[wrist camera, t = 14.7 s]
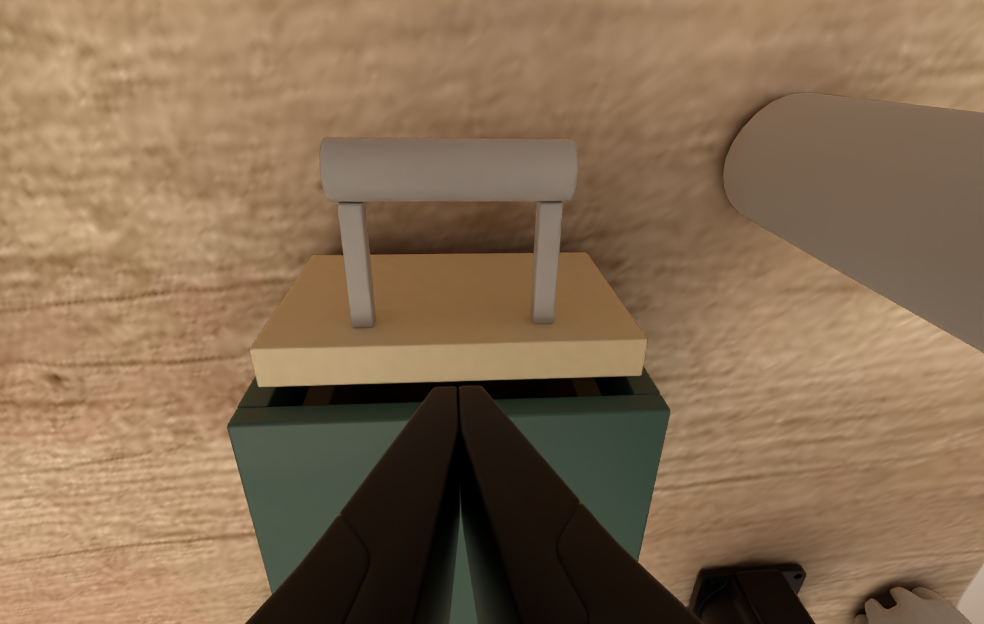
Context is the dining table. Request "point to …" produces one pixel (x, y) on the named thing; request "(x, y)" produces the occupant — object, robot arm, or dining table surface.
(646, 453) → the cabinet
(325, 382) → the drawer
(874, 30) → the dining table surface
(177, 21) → the dining table surface
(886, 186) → the beverage can
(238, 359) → the dining table surface
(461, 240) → the dining table surface
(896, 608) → the bottle
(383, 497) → the robot arm
